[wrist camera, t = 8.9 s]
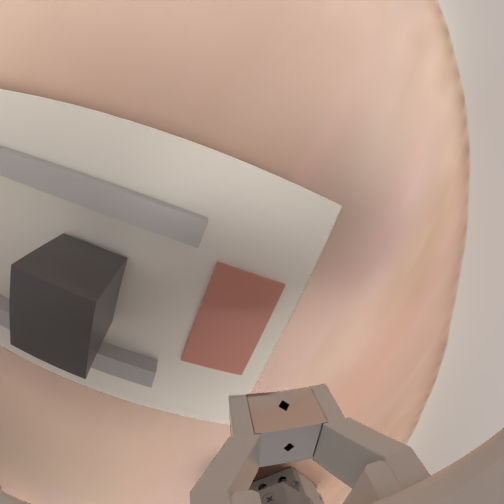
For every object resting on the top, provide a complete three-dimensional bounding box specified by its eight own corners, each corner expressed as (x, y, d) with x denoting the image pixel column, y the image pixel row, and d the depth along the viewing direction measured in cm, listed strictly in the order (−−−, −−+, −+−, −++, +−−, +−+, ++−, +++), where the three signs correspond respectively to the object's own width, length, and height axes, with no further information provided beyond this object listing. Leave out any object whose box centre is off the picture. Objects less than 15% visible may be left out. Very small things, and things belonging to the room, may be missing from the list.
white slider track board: (223, 372, 19) (233, 437, 14) (-73, 243, 12) (-116, 264, 6) (303, 194, 17) (353, 209, 11) (-46, 87, 10) (-93, 78, 4)
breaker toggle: (112, 320, 11) (85, 379, 8) (53, 296, 11) (10, 344, 7) (128, 257, 11) (96, 302, 7) (63, 233, 10) (11, 264, 6)
